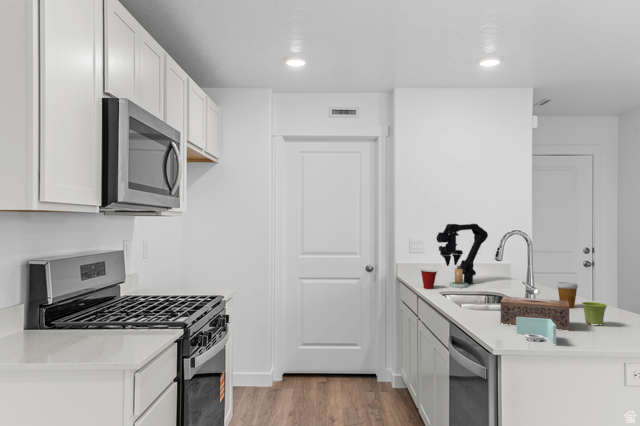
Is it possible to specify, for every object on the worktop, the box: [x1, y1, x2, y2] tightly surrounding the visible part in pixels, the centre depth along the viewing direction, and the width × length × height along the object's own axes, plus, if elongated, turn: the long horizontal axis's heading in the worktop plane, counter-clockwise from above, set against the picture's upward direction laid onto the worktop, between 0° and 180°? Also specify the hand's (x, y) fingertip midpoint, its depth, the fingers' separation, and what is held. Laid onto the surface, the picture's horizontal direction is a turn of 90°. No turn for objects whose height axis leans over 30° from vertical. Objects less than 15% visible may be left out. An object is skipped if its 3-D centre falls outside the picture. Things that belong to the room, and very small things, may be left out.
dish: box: [449, 281, 469, 289], centre depth 309 cm, size 11×11×2 cm
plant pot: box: [581, 301, 608, 325], centre depth 200 cm, size 9×9×9 cm
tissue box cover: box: [500, 296, 570, 331], centre depth 200 cm, size 26×14×10 cm, turn 64°
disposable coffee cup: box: [556, 281, 579, 309], centre depth 239 cm, size 10×10×12 cm
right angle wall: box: [515, 317, 557, 345], centre depth 174 cm, size 12×12×8 cm
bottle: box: [454, 265, 464, 284], centre depth 309 cm, size 5×5×13 cm
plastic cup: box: [420, 268, 438, 290], centre depth 300 cm, size 11×11×12 cm
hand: (451, 265), depth 318 cm, fingers open, 9 cm apart
